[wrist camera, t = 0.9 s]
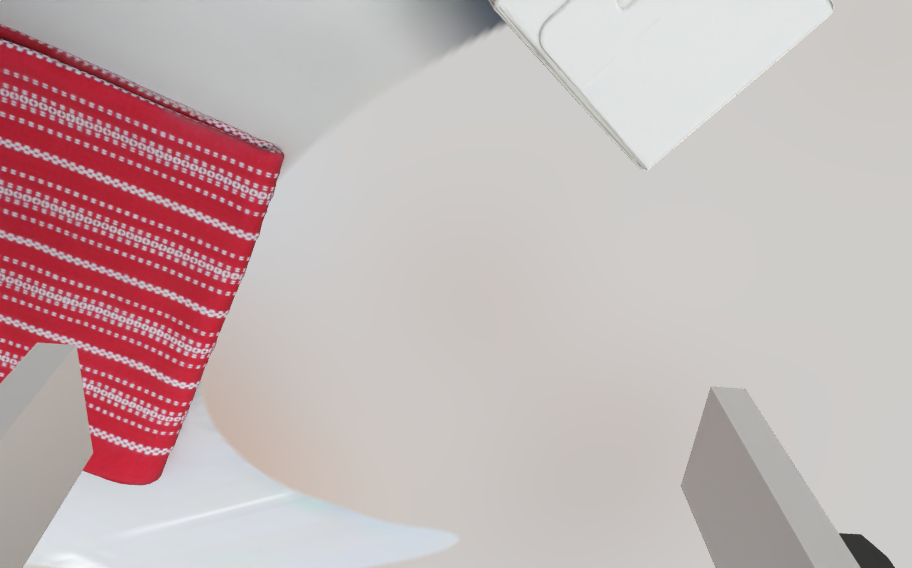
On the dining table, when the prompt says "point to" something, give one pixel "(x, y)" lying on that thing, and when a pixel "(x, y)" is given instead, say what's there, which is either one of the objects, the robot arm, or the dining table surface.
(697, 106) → the ink box
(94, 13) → the dining table surface
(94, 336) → the dish towel
